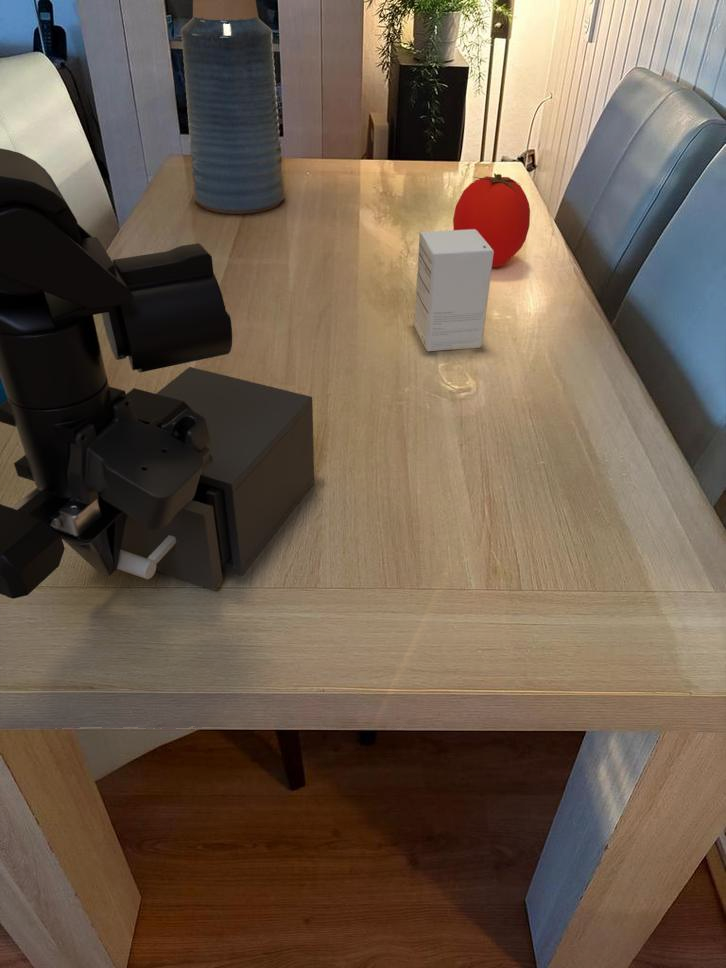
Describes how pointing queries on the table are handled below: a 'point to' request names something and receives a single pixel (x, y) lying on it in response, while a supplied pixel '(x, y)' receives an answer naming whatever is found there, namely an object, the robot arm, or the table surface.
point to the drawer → (182, 542)
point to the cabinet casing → (251, 453)
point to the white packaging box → (452, 289)
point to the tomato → (495, 215)
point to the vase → (232, 108)
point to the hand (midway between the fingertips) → (107, 571)
